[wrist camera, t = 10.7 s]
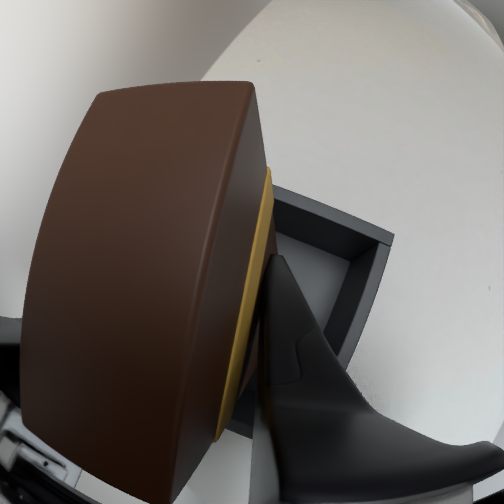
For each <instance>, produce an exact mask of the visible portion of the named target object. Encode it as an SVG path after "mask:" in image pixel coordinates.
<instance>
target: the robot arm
mask: <svg viewBox="0 0 504 504" xmlns="http://www.w3.org/2000/svg"><path fill="white" fill-rule="evenodd" d="M21 326H22V318H7V317H2V316H0V504H101V503H99V502H97V501H95V500H93V499H92V498H90V497H88V496H86V495H84V494H83V493H81V492H79V491H78V490H76V489H75V487H76V484H77V482H78V479H79V477H80V474H81V472H82V470H83V469H81V468H80V467H78V466H76V465H75V464H73V463H72V462H70V461H69V460H67V459H66V458H64V457H63V456H62V455H60V454H59V453H57V452H56V451H54V450H53V449H52V448H50V447H49V446H48V445H46V444H45V443H44V442H42V441H41V440H40V439H39V438H37V437H36V436H35V435H34V434H32V433H31V432H30V431H29V430H28V429H26V428H25V427H24V425H23V423H22V418H21V406H20V386H19V359H20V338H21ZM503 469H504V451H503V450H502V449H501V448H499V447H498V446H496V445H494V444H492V443H490V442H489V441H481V442H477V443H473V444H469V445H463V446H457V445H449V444H444V443H442V442H439V441H436V440H434V439H431V438H429V437H427V436H425V435H423V434H420V433H418V432H416V431H414V430H412V429H410V428H408V427H405V426H403V425H401V424H399V423H397V422H395V421H393V420H391V419H389V418H387V417H385V416H383V415H381V414H380V413H378V412H377V411H376V410H375V409H373V408H372V407H371V406H370V405H369V403H368V402H367V401H366V400H365V398H364V397H363V396H362V394H361V393H360V391H359V390H358V388H357V387H356V385H355V384H354V382H353V381H352V379H351V378H350V376H349V375H348V373H347V372H346V370H345V369H344V368H343V366H342V365H341V363H340V362H339V360H338V358H337V357H336V355H335V354H334V352H333V351H332V349H331V347H330V346H329V344H328V342H327V340H326V338H325V336H324V334H323V332H322V330H321V328H320V326H319V325H318V323H317V321H316V319H315V317H314V315H313V313H312V311H311V309H310V307H309V305H308V303H307V301H306V299H305V297H304V295H303V293H302V291H301V289H300V287H299V285H298V283H297V281H296V279H295V277H294V275H293V273H292V272H291V270H290V268H289V266H288V264H287V262H286V260H285V258H284V256H283V255H278V254H271V255H270V258H269V260H268V263H267V267H266V270H265V274H264V282H263V292H262V302H261V311H260V320H259V335H258V354H257V373H256V392H255V409H254V426H253V443H252V458H251V473H250V488H249V503H248V504H504V489H502V490H500V491H498V492H496V493H493V494H491V495H489V496H486V497H484V498H481V499H479V500H477V501H474V502H473V485H474V484H476V483H478V482H480V481H483V480H484V479H486V478H488V477H491V476H493V475H494V474H496V473H498V472H500V471H502V470H503Z"/></svg>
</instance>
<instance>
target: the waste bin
mask: <svg viewBox="0 0 504 504" xmlns="http://www.w3.org/2000/svg"><path fill="white" fill-rule="evenodd" d="M272 187H273V196H274V204H273V217H274V225H275V233H276V241H277V249H278V255H283V256H284V258H285V260H286V262H287V264H288V266H289V268H290V270H291V272H292V273H293V275H294V277H295V279H296V281H297V283H298V285H299V287H300V289H301V291H302V293H303V295H304V297H305V299H306V301H307V303H308V305H309V307H310V309H311V311H312V313H313V315H314V317H315V319H316V321H317V323H318V325H319V326H320V328H321V330H322V332H323V334H324V336H325V338H326V340H327V342H328V344H329V346H330V347H331V349H332V351H333V352H334V354H335V355H336V357H337V358H338V360H339V362H340V363H341V365H342V366H343V368H344V369H345V370H346V369H347V366H348V364H349V362H350V360H351V357H352V355H353V353H354V351H355V348H356V346H357V343H358V341H359V339H360V336H361V334H362V331H363V329H364V326H365V323H366V321H367V318H368V316H369V313H370V310H371V308H372V305H373V302H374V299H375V296H376V293H377V291H378V288H379V285H380V282H381V278H382V275H383V272H384V269H385V266H386V263H387V259H388V256H389V252H390V249H391V246H392V242H393V239H394V234H393V233H391V232H389V231H386V230H384V229H382V228H380V227H378V226H375V225H373V224H371V223H369V222H366V221H364V220H362V219H359V218H357V217H355V216H352V215H350V214H348V213H345V212H343V211H340V210H338V209H335V208H333V207H330V206H328V205H326V204H323V203H321V202H318V201H315V200H313V199H310V198H308V197H305V196H302V195H300V194H297V193H295V192H292V191H289V190H287V189H284V188H281V187H278V186H276V185H273V184H272ZM256 373H257V366H256V368H255V370H254V372H253V374H252V376H251V377H250V379H249V381H248V383H247V385H246V386H245V388H244V390H243V392H242V393H241V395H240V397H239V399H238V400H237V402H236V404H235V406H234V410H233V414H232V416H231V418H230V420H229V422H228V423H227V425H226V427H225V429H227V430H230V431H232V432H235V433H237V434H240V435H242V436H245V437H247V438H250V439H252V440H253V426H254V409H255V392H256Z"/></svg>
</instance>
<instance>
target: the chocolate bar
mask: <svg viewBox="0 0 504 504" xmlns="http://www.w3.org/2000/svg"><path fill="white" fill-rule="evenodd" d="M273 204H274V196H273V187H272V178H271V171H270V168H269V167H267V165H266V158H265V151H264V144H263V137H262V131H261V124H260V118H259V111H258V105H257V99H256V92H255V87H254V85H253V83H251V82H248V81H194V82H176V83H164V84H154V85H145V86H137V87H130V88H123V89H117V90H111V91H106V92H101V93H99V94H98V95H97V96H96V97H95V99H94V101H93V102H92V104H91V106H90V108H89V110H88V111H87V113H86V115H85V117H84V119H83V121H82V123H81V125H80V127H79V129H78V131H77V133H76V135H75V137H74V139H73V141H72V143H71V145H70V148H69V150H68V152H67V154H66V156H65V159H64V161H63V163H62V166H61V168H60V171H59V173H58V176H57V178H56V181H55V184H54V186H53V189H52V192H51V195H50V197H49V200H48V203H47V206H46V209H45V213H44V216H43V219H42V222H41V226H40V229H39V233H38V237H37V240H36V244H35V249H34V253H33V257H32V262H31V267H30V271H29V277H28V282H27V287H26V294H25V300H24V308H23V316H22V326H21V338H20V359H19V386H20V406H21V418H22V423H23V425H24V427H25V428H26V429H28V430H29V431H30V432H31V433H32V434H34V435H35V436H36V437H37V438H39V439H40V440H41V441H42V442H44V443H45V444H46V445H48V446H49V447H50V448H52V449H53V450H54V451H56V452H57V453H59V454H60V455H62V456H63V457H64V458H66V459H67V460H69V461H70V462H72V463H73V464H75V465H76V466H78V467H80V468H81V469H83V470H84V471H86V472H88V473H90V474H91V475H93V476H95V477H96V478H98V479H100V480H102V481H104V482H105V483H107V484H109V485H111V486H113V487H115V488H117V489H119V490H121V491H123V492H125V493H127V494H129V495H131V496H133V497H136V498H138V499H140V500H142V501H145V502H147V503H149V504H172V503H173V502H174V501H175V499H176V498H177V496H178V495H179V493H180V492H181V490H182V489H183V487H184V486H185V485H186V483H187V482H188V480H189V479H190V477H191V475H192V474H193V472H194V471H195V469H196V468H197V466H198V465H199V463H200V462H201V460H202V458H203V457H204V455H205V454H206V452H207V451H208V449H209V447H210V446H211V444H212V442H217V440H218V439H219V437H220V436H221V434H222V432H223V430H224V429H225V427H226V425H227V423H228V422H229V420H230V418H231V416H232V414H233V410H234V406H235V404H236V402H237V400H238V399H239V397H240V395H241V393H242V392H243V390H244V388H245V386H246V385H247V383H248V381H249V379H250V377H251V376H252V374H253V372H254V370H255V368H256V366H257V354H258V335H259V320H260V311H261V302H262V292H263V282H264V274H265V270H266V267H267V263H268V260H269V258H270V255H271V254H278V249H277V241H276V233H275V225H274V217H273Z"/></svg>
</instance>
